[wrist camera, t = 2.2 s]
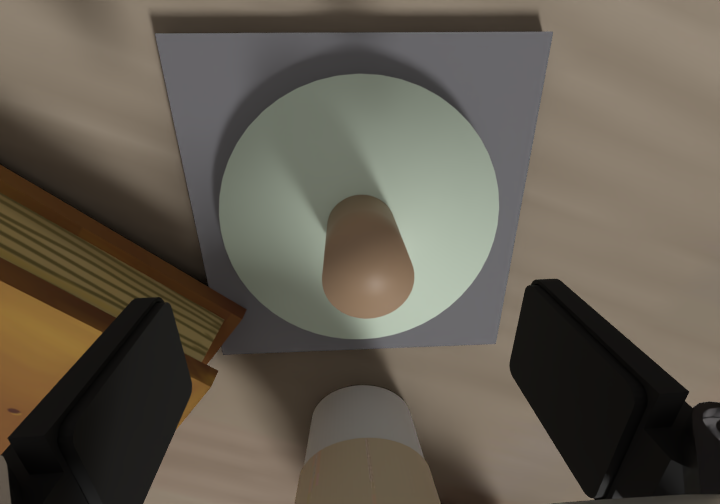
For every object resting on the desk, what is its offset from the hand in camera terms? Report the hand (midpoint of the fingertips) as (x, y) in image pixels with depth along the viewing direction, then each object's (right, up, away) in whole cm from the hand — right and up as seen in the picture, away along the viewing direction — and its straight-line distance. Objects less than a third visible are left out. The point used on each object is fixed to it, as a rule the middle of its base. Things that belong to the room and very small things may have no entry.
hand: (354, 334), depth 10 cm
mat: (0, +4, +9) cm, 10 cm away
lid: (0, +4, +8) cm, 9 cm away
